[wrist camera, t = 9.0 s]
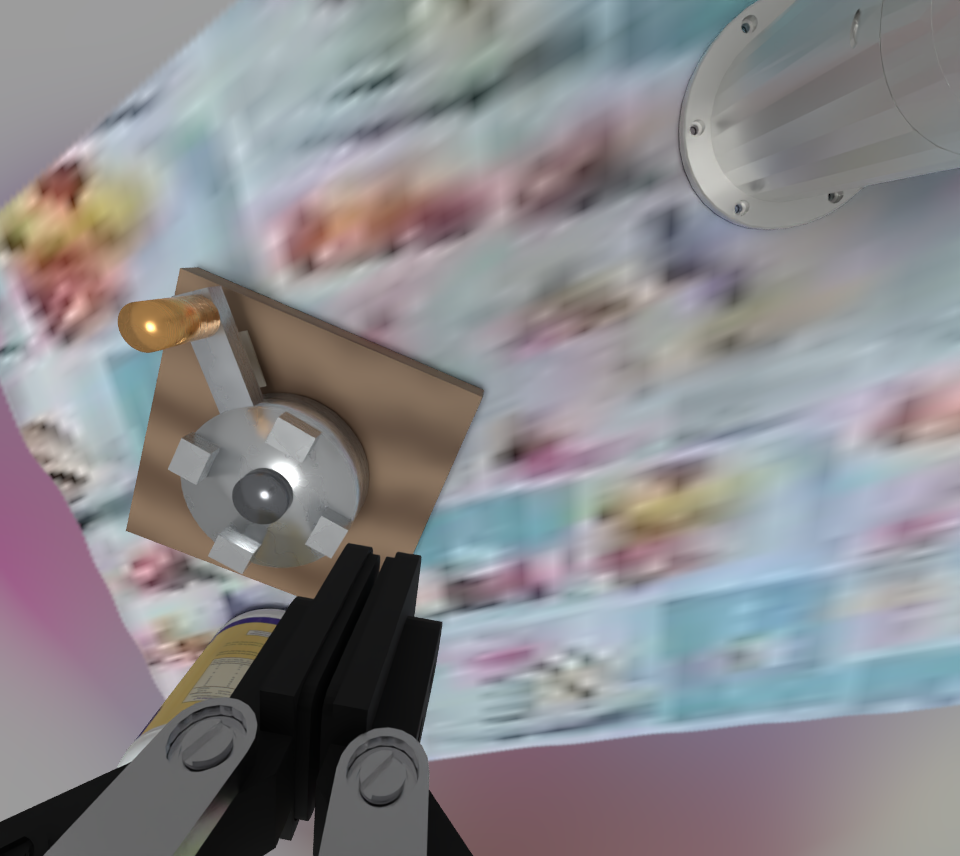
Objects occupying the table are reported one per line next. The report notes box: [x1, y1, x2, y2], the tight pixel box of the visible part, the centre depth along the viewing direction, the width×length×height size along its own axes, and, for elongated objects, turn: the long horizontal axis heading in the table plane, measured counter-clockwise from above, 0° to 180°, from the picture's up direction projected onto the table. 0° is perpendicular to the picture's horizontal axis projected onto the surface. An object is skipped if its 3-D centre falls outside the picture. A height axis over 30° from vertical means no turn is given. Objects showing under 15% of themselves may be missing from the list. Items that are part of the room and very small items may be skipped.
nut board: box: [126, 267, 484, 599], centre depth 39 cm, size 22×22×2 cm
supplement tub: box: [117, 609, 286, 839], centre depth 39 cm, size 12×12×17 cm
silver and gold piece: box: [118, 286, 369, 574], centre depth 32 cm, size 20×12×8 cm, turn 13°
